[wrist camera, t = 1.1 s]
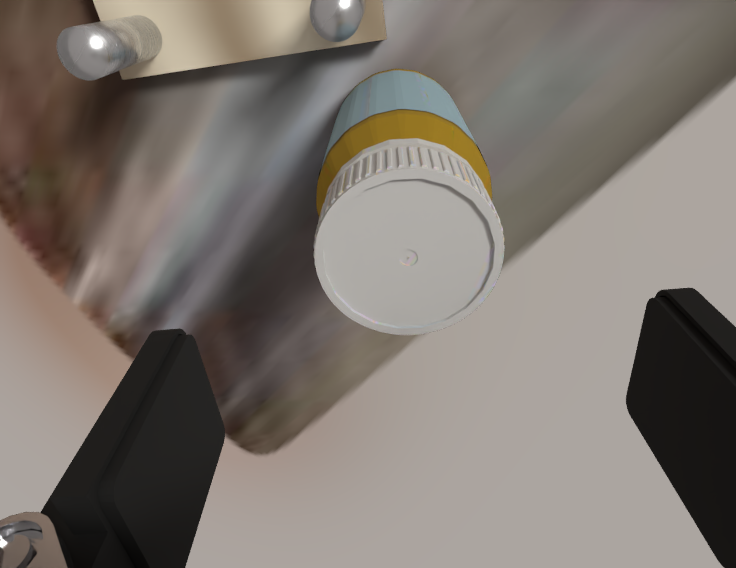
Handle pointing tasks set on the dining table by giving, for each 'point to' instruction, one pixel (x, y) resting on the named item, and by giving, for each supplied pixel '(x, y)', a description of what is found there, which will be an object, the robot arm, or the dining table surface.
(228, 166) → the dining table surface
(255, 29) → the holder base
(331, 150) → the bottle
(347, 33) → the holder pins
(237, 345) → the dining table surface
